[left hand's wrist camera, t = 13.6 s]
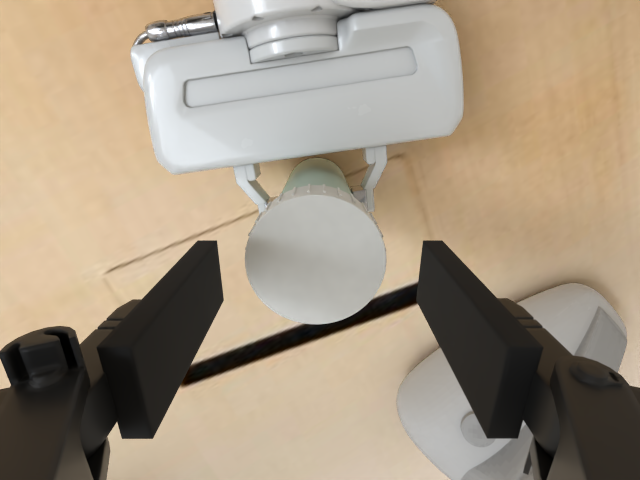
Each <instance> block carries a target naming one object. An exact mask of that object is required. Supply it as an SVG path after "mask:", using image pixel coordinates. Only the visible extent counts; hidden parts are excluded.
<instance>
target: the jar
mask: <svg viewBox="0 0 640 480" xmlns="http://www.w3.org/2000/svg"><path fill="white" fill-rule="evenodd" d="M308 184H310V185H323V184H325V186H329V187H333V188H337V187H339V188H340V190H342V191H344V192H346V193H348V194H352V193H351V191H350V188H349V186H348V184H347V181H346V179H345V177H344V175H343V173H342V171H341V169H340V168H339V167H338V166H337V165H336V164H335V163H333V162H332V161H330V160H327V159H324V158H310V159H307V160H304V161H302V162H301V163H299V164H298V165H297V166H296V167H295V168H294V169H293V171H292V172H291V174H290V176H289V179H288V181H287V183H286V185H285V187H284V189H283V191H282V193H283V194H284V193H285V192H287V191H290V190H292V189H293V188H294V187H296V188H298V187H302V186H308Z"/></svg>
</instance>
